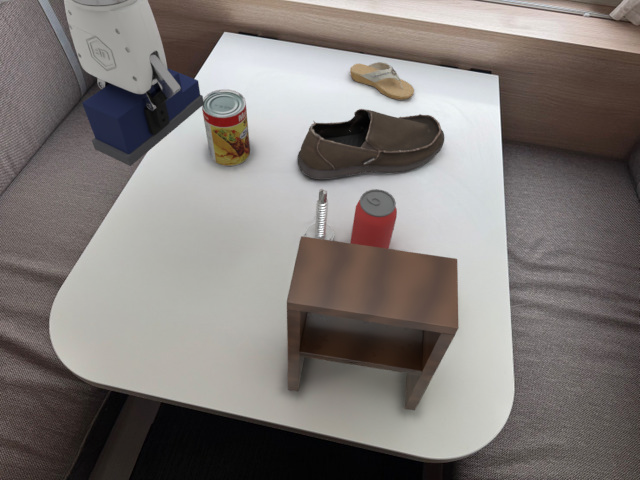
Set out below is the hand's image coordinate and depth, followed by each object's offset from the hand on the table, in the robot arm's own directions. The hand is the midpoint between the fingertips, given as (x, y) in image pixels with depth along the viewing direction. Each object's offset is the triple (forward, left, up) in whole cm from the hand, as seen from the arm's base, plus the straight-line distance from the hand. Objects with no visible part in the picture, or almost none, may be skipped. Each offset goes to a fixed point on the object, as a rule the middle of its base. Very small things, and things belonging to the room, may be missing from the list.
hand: (140, 119), depth 68 cm
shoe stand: (-5, -37, -26) cm, 46 cm away
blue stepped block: (+2, 0, -2) cm, 3 cm away
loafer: (+36, -20, -27) cm, 49 cm away
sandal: (+59, -11, -27) cm, 65 cm away
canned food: (+23, +5, -27) cm, 35 cm away
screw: (+13, -21, -27) cm, 36 cm away
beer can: (+16, -29, -27) cm, 42 cm away
